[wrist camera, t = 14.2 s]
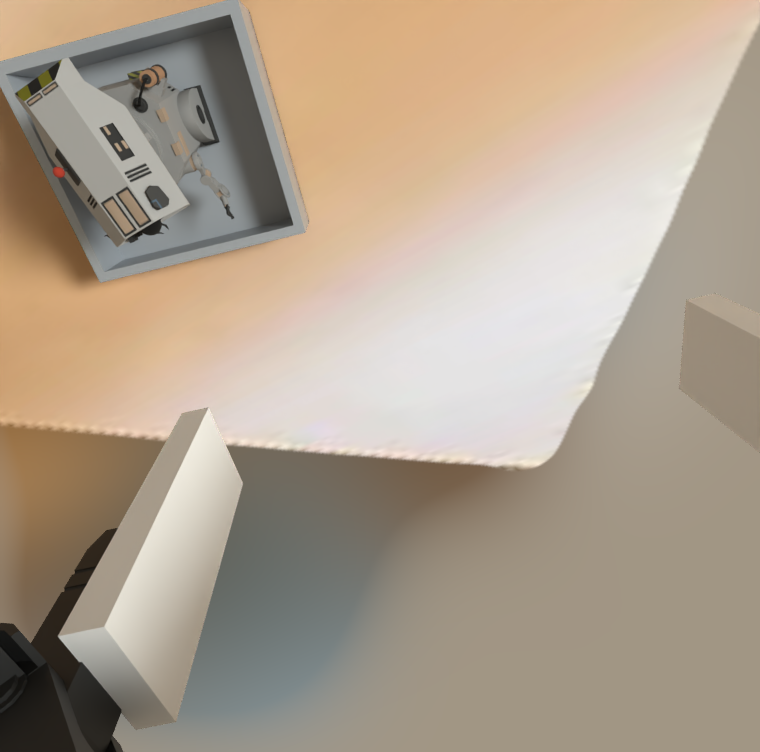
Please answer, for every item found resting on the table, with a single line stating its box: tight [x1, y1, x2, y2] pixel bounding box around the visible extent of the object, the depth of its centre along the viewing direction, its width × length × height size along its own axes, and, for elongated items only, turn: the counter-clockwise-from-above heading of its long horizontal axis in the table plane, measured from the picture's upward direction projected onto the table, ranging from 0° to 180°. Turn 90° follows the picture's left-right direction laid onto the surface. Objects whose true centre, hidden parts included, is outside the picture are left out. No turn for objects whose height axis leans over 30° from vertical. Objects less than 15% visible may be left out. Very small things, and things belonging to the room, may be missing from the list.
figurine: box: [15, 58, 234, 247], centre depth 36 cm, size 9×12×15 cm
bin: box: [0, 0, 309, 283], centre depth 41 cm, size 17×19×5 cm
